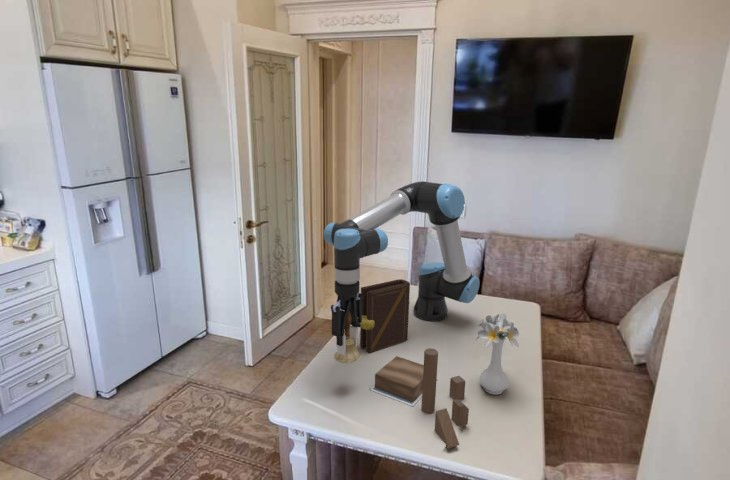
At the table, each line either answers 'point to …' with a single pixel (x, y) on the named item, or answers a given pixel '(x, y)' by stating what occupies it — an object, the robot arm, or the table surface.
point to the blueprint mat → (395, 396)
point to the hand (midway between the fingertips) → (347, 349)
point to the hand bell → (348, 346)
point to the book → (384, 315)
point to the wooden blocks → (456, 393)
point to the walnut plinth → (401, 378)
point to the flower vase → (496, 351)
